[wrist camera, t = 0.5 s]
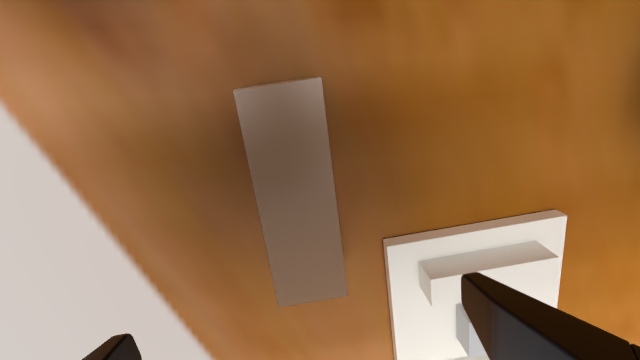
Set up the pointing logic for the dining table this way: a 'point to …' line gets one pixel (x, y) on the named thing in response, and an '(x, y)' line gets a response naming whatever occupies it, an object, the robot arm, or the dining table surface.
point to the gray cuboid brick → (294, 187)
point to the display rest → (447, 269)
